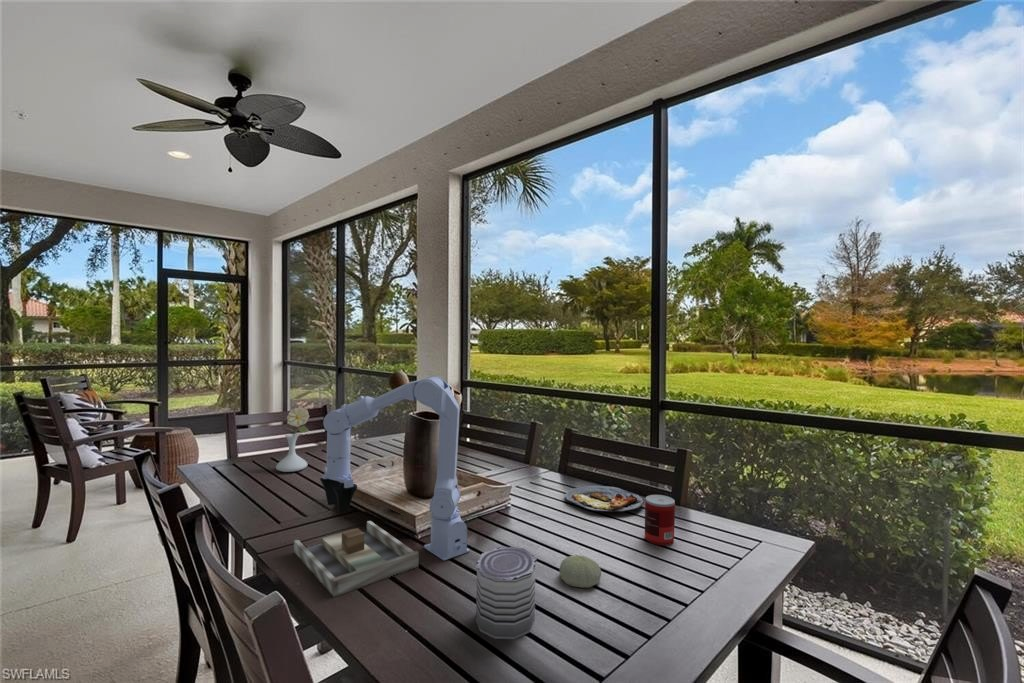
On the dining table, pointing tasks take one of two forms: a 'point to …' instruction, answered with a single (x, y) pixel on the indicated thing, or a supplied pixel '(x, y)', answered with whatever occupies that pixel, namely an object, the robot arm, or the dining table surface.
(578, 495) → the food plate
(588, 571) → the sea urchin shell
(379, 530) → the box
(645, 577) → the dining table surface
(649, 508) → the canned food
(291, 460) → the flower in vase
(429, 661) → the dining table surface
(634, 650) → the dining table surface
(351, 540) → the walnut cube
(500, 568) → the can
